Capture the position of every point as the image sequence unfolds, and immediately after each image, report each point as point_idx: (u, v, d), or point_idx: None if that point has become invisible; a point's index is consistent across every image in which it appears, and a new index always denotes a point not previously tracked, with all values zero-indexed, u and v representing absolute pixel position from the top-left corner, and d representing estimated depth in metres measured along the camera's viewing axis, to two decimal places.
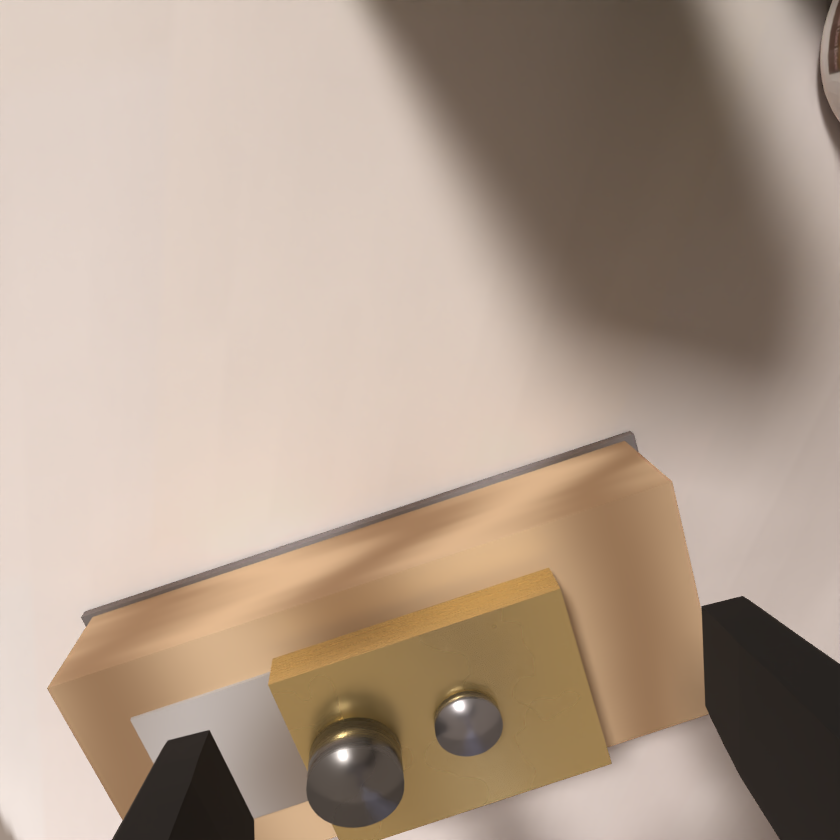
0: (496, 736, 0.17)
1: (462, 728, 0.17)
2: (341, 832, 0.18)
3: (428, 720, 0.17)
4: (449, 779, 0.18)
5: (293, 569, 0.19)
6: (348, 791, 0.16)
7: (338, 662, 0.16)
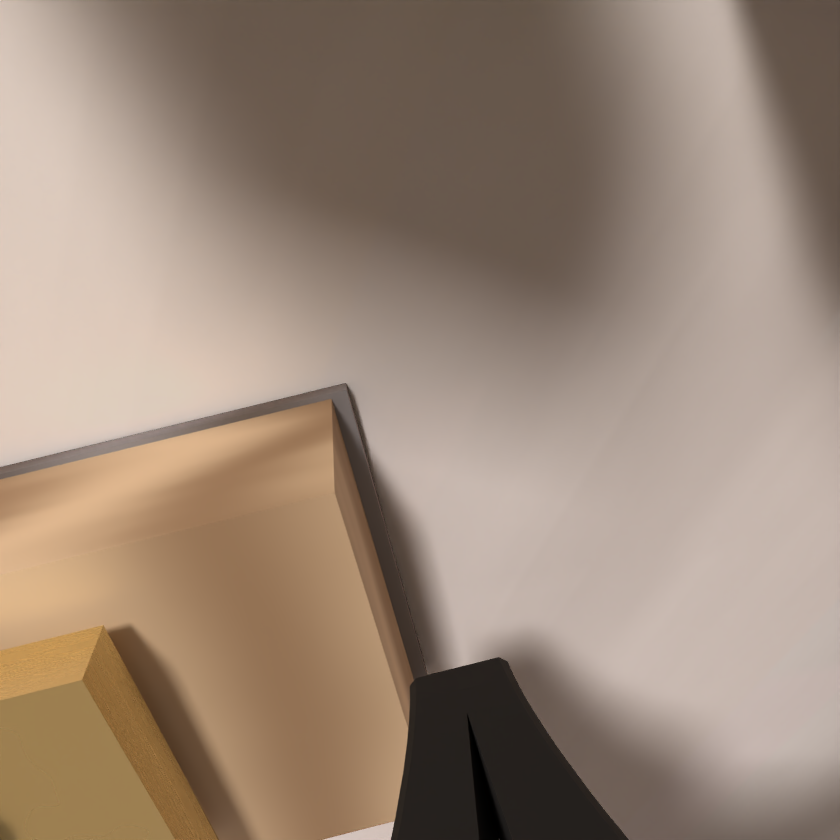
0: None
1: None
2: None
3: None
4: None
5: None
6: None
7: None
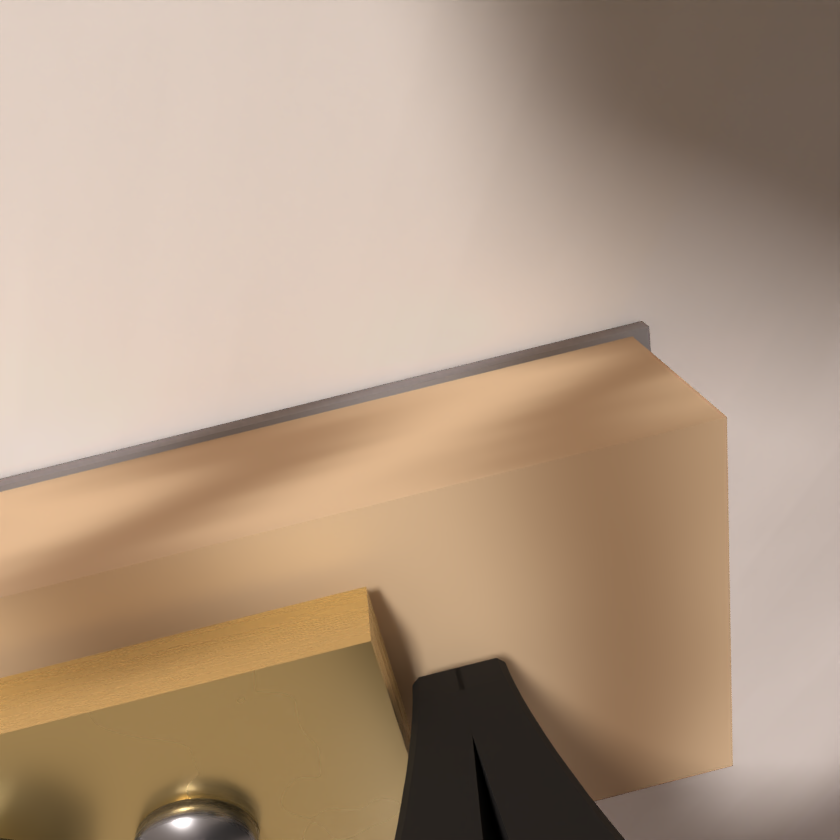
0: None
1: None
2: None
3: None
4: None
5: (43, 513, 0.11)
6: None
7: None
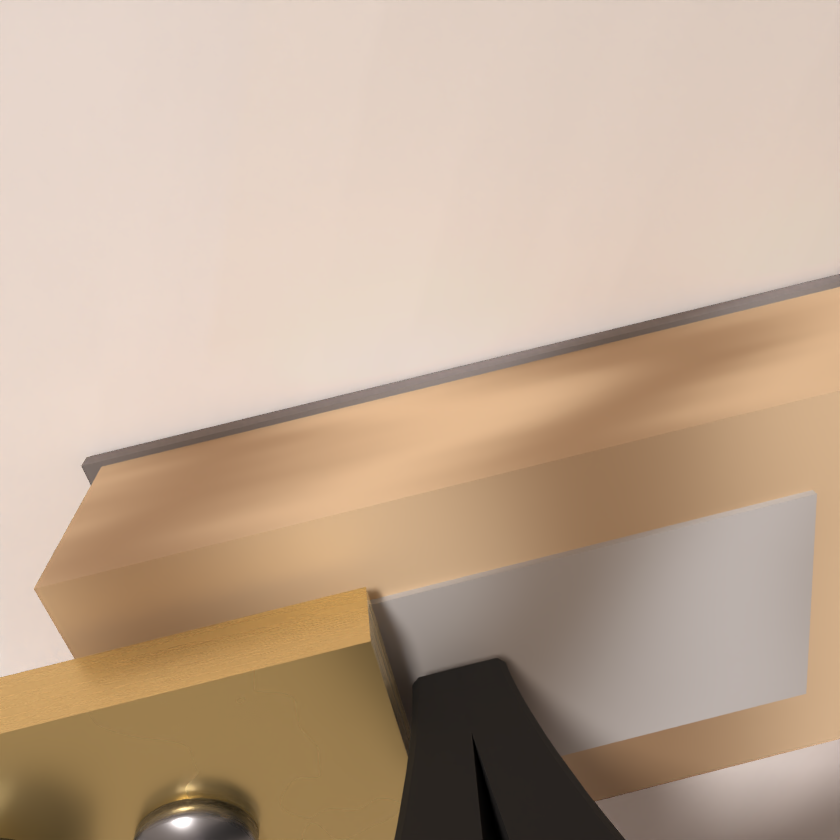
0: None
1: None
2: None
3: None
4: None
5: (469, 409, 0.11)
6: None
7: None
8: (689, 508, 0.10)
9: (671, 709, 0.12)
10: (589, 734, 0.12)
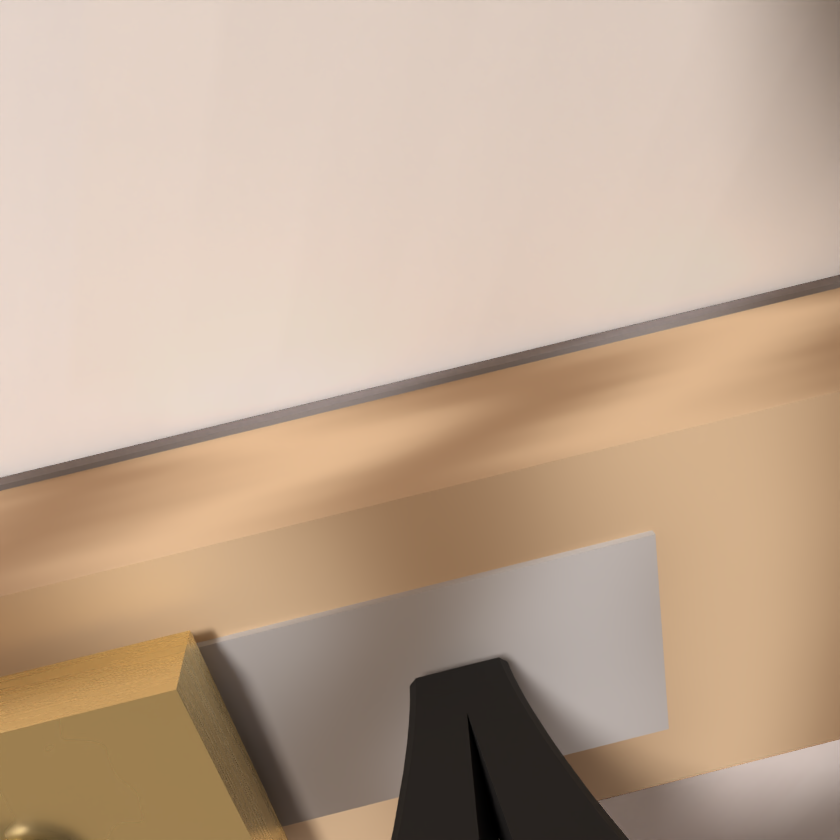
0: None
1: None
2: None
3: None
4: None
5: (323, 445, 0.11)
6: None
7: None
8: (526, 548, 0.10)
9: None
10: None
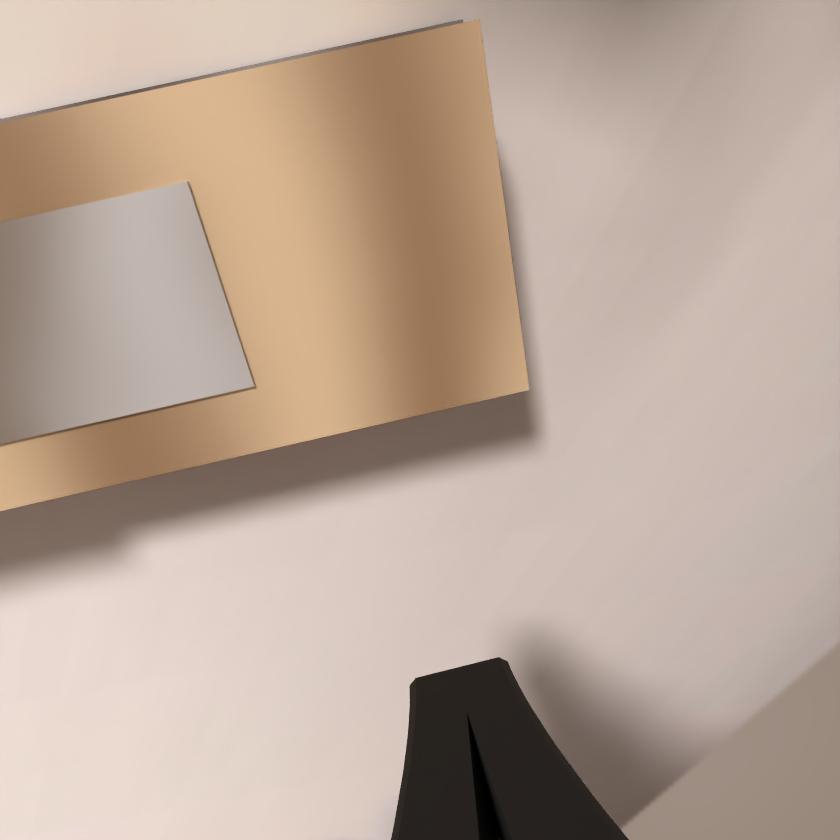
0: None
1: None
2: None
3: None
4: None
5: None
6: None
7: None
8: (82, 190, 0.13)
9: (134, 392, 0.14)
10: (72, 416, 0.14)
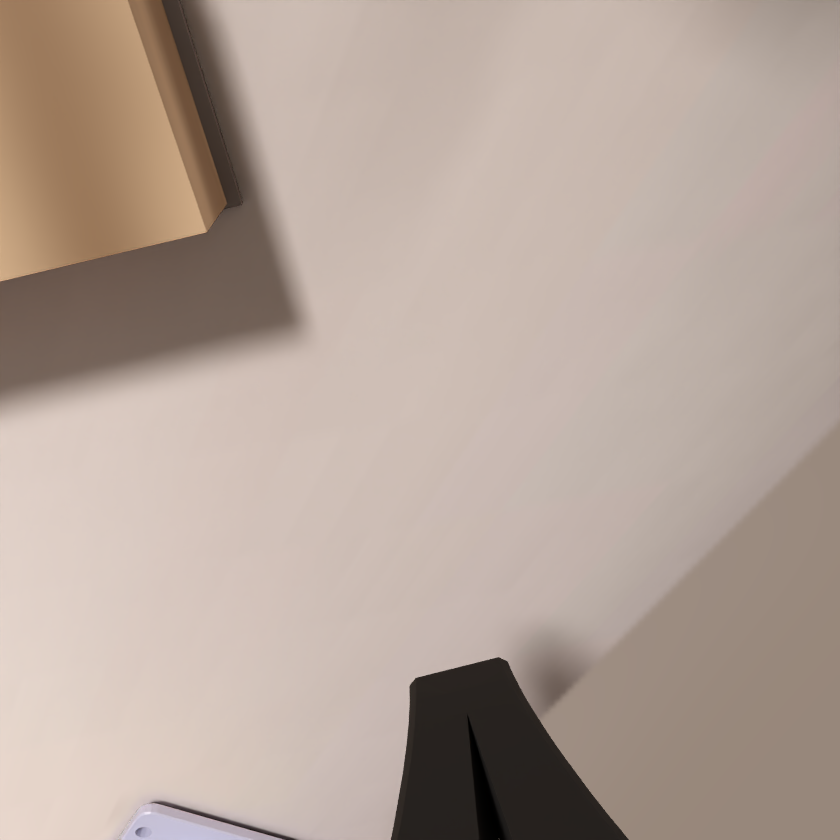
0: None
1: None
2: None
3: None
4: None
5: None
6: None
7: None
8: None
9: None
10: None
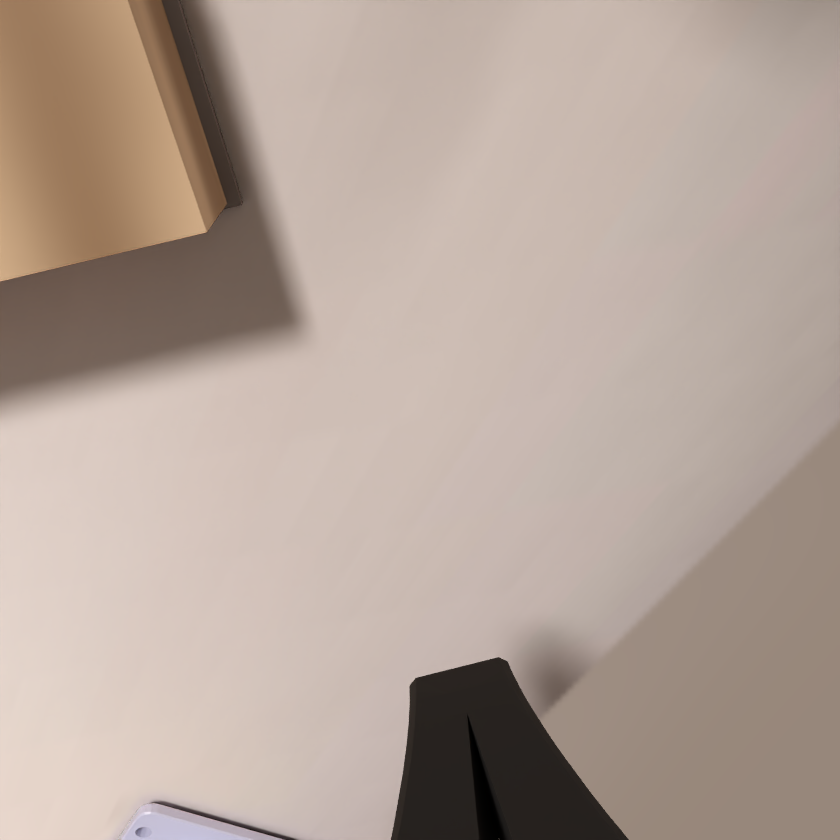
0: None
1: None
2: None
3: None
4: None
5: None
6: None
7: None
8: None
9: None
10: None
